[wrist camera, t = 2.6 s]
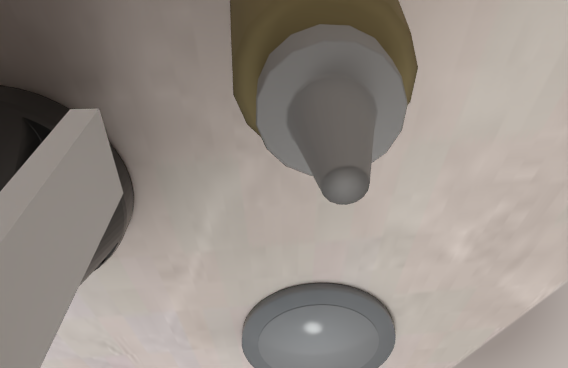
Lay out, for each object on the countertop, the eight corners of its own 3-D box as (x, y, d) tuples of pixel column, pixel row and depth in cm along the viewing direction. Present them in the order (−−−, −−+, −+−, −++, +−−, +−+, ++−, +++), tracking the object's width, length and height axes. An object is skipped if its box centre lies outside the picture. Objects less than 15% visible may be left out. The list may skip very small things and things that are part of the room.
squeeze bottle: (377, -99, 23) (549, -22, 8) (382, 56, 28) (498, 282, 13) (219, -71, 24) (123, 45, 9) (250, 76, 28) (218, 312, 14)
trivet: (248, 379, 47) (247, 389, 46) (236, 285, 39) (235, 295, 38) (385, 376, 47) (387, 386, 46) (401, 281, 39) (404, 291, 38)
